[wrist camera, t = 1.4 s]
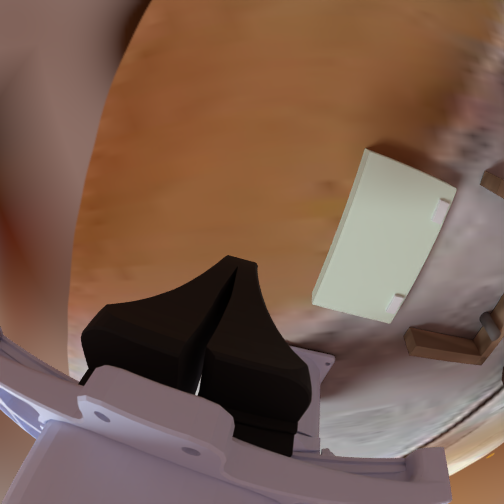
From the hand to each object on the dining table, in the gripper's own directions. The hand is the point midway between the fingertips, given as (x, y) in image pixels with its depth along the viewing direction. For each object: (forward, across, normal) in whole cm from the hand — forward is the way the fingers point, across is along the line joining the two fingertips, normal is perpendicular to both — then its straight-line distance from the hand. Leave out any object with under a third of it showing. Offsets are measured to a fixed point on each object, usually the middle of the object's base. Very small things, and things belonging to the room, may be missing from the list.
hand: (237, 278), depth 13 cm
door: (+10, -9, 0) cm, 13 cm away
